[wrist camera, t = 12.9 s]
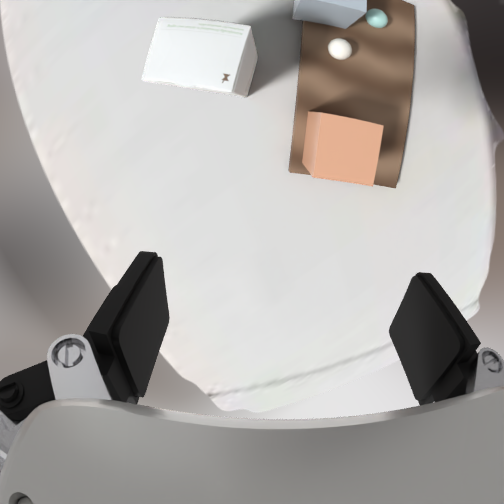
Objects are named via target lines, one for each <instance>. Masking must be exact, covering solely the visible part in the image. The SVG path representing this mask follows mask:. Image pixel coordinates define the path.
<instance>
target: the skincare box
mask: <svg viewBox="0 0 504 504" xmlns="http://www.w3.org/2000/svg"><path fill="white" fill-rule="evenodd" d="M257 60H258V55H257V51H256V46H255V42H254V37H253V33H252V29H251V26H248V25H242V24H237V23H230V22H224V21H216V20H207V19H197V18H180V17H160V18H159V20H158V23H157V26H156V29H155V32H154V35H153V39H152V42H151V46H150V49H149V53H148V56H147V60H146V64H145V68H144V72H143V76H142V81H145V82H151V83H157V84H164V85H170V86H176V87H182V88H188V89H193V90H199V91H206V92H212V93H218V94H225V95H231V96H237V97H243V98H246V97H247V95H248V92H249V88H250V85H251V81H252V78H253V74H254V71H255V67H256V64H257Z"/></svg>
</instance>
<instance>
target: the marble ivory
mask: <svg viewBox="0 0 504 504" xmlns="http://www.w3.org/2000/svg"><path fill="white" fill-rule="evenodd" d="M328 51H329V53H330V55H331V56H332V57H334V58H336V59H339V60H344V59H347V58H348V57H349V56H350V55H351V53H352V48H351V45H350V44H349V43H348V42H347V41H346V40H344V39H340V38H337V39H333V40H332V41H331V42H330V43H329V45H328Z"/></svg>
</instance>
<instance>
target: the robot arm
mask: <svg viewBox="0 0 504 504" xmlns="http://www.w3.org/2000/svg"><path fill="white" fill-rule="evenodd" d="M168 324H169V310H168V303H167V295H166V287H165V279H164V270H163V261H162V258H161V257H158V255H157V253H156V252H144V251H140V252H139V254H138V255H137V256H136V258H135V259H134V261H133V262H132V264H131V265H130V266H129V268H128V269H127V271H126V272H125V274H124V275H123V277H122V278H121V280H120V281H119V283H118V284H117V285H116V286H114V287H113V288H112V290H111V292H110V293H109V295H108V296H107V298H106V299H105V301H104V302H103V304H102V305H101V307H100V309H99V310H98V312H97V313H96V315H95V317H94V318H93V320H92V321H91V323H90V325H89V326H88V328H87V330H86V331H85V333H84V335H83V336H80V335H77V334H69V335H64V336H62V337H60V338H58V339H57V340H55V341H54V342H53V343H52V344H51V346H50V347H49V350H48V352H47V360H46V361H44V362H42V363H39V364H37V365H34V366H32V367H29V368H27V369H24V370H22V371H19V372H17V373H15V374H12V375H9V376H7V377H5V378H3V379H2V380H1V381H0V504H504V361H503V359H502V358H501V356H500V355H499V354H498V353H497V352H496V351H494V350H493V349H490V348H482V349H481V350H480V351H479V353H478V354H477V352H476V349H477V348H478V346H479V345H480V344H481V343H480V341H479V339H478V338H477V336H476V335H475V333H474V332H473V330H472V329H471V327H470V326H469V324H468V323H467V321H466V320H465V318H464V317H463V315H462V314H461V312H460V311H459V310H458V308H457V307H456V305H455V304H454V303H453V301H452V300H451V299H450V297H449V296H448V294H447V293H446V292H445V290H444V289H443V288H442V287H441V285H440V284H439V283H438V281H437V280H436V279H435V278H434V276H433V275H432V274H431V273H421V272H419V273H417V274H416V275H415V276H413V277H412V279H411V281H410V284H409V286H408V289H407V291H406V293H405V296H404V298H403V300H402V302H401V305H400V307H399V309H398V311H397V313H396V315H395V317H394V319H393V322H392V324H391V326H390V329H389V334H390V337H391V339H392V342H393V344H394V346H395V349H396V351H397V353H398V356H399V358H400V361H401V363H402V366H403V368H404V371H405V373H406V376H407V378H408V381H409V383H410V386H411V389H412V391H413V394H414V397H415V399H416V400H418V401H419V404H420V406H416V407H411V408H406V409H400V410H395V411H388V412H383V413H375V414H367V415H359V416H349V417H337V418H323V419H289V420H287V419H285V420H283V419H282V420H281V419H276V420H275V419H248V418H232V417H221V416H211V415H202V414H193V413H186V412H179V411H172V410H165V409H160V408H154V407H149V406H143V405H137V403H138V400H139V397H144V395H145V392H146V390H147V386H148V383H149V380H150V377H151V374H152V371H153V368H154V365H155V362H156V359H157V356H158V353H159V350H160V347H161V344H162V341H163V338H164V335H165V332H166V330H167V327H168ZM434 401H435V402H434ZM127 402H128V403H127ZM433 402H434V403H433ZM131 403H132V404H131Z"/></svg>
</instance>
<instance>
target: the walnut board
mask: <svg viewBox="0 0 504 504" xmlns="http://www.w3.org/2000/svg"><path fill="white" fill-rule="evenodd" d="M370 9H379V10H381V11H383V12H384V13H385V14H386V16H387V18H388V22H387V25H386V26H385V27H382V28H375V27H373V26H371V25H370V24H369V23H368V22H367V20H366V17H365V16H366V13H365V14H364V15H363V16H361V17H360V18H359V19H358V20H356V21H355V22H354V23H353V24H351V25H350V26H349V27H348V28H346V29H344V28H340V27H335V26H330V25H326V24H320V23H315V22H309V21H303V26H302V39H301V52H300V64H299V75H298V86H297V96H296V106H295V116H294V126H293V135H292V144H291V153H290V162H289V172H290V173H299V174H308V175H311V174H310V173H309V171H308V170H307V169H306V167H305V166H304V165H303V163H302V159H303V151H304V143H305V135H306V126H307V117H308V111H309V112H321V113H327V114H333V115H338V116H343V117H348V118H353V119H358V120H362V121H367V122H371V123H375V124H379V125H383V133H382V139H381V145H380V151H379V157H378V163H377V168H376V173H375V178H374V183H373V184H375V185H380V186H385V187H391V188H396V185H397V180H398V176H399V171H400V166H401V161H402V155H403V150H404V144H405V138H406V132H407V125H408V118H409V111H410V102H411V93H412V82H413V68H414V44H415V18H414V5H412V4H410V3H407V2H405V1H402V0H367V11H368V10H370ZM337 38H340V39H344V40H346V41H347V42H348V43H349V44H350V45H351V48H352V53H351V55H350V56H349V57H348V58H347V59H344V60H339V59H336V58H334V57H332V56H331V55H330V53H329V51H328V45H329V43H330V42H331V41H332V40H333V39H337Z"/></svg>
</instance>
